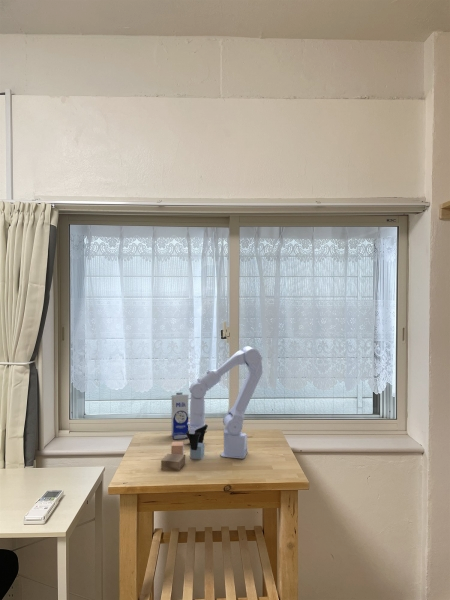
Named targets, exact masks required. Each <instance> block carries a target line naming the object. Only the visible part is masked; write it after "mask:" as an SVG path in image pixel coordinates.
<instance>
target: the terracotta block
mask: <svg viewBox="0 0 450 600" xmlns="http://www.w3.org/2000/svg"><path fill="white" fill-rule="evenodd" d="M184 443H185V442H184V441H172V442H171V446H170V447H171V448H170V449H171V450H170V451H171V453H170V454H179V455H185V451H184V450H185V448H184V447H185V446H184Z"/></svg>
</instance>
